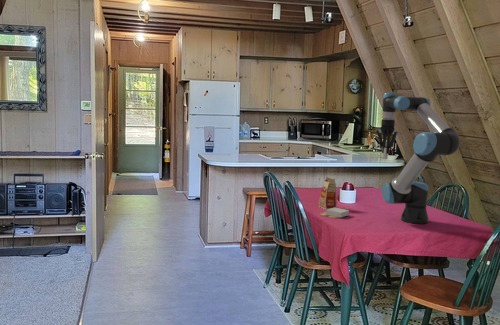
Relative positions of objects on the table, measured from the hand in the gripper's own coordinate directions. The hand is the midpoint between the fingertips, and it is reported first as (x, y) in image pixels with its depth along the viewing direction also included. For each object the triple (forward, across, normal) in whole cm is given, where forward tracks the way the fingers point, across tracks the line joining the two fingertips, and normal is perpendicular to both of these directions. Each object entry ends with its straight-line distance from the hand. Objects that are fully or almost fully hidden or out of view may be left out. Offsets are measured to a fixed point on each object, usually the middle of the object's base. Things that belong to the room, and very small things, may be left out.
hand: (385, 158), depth 287 cm
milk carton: (+35, +32, +8) cm, 48 cm away
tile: (+33, +12, +22) cm, 41 cm away
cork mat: (+34, +20, +22) cm, 45 cm away
